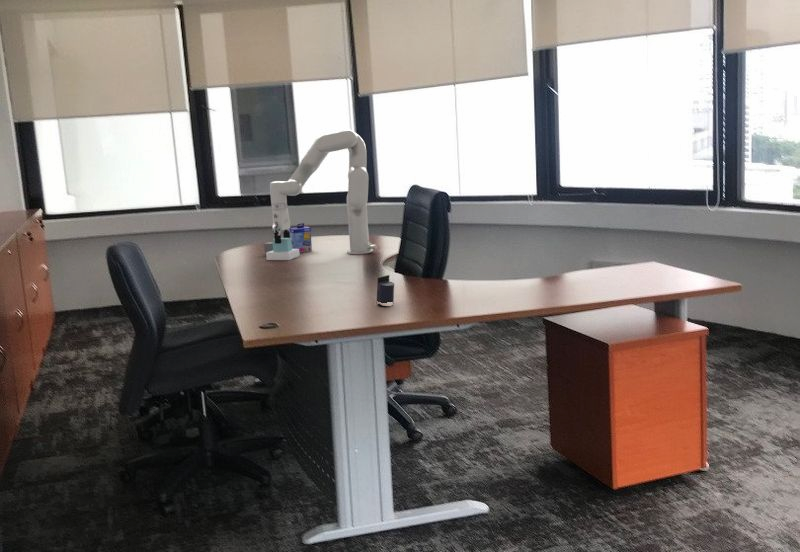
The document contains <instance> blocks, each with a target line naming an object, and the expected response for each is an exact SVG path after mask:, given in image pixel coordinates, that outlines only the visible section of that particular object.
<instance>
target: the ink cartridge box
mask: <svg viewBox="0 0 800 552" xmlns="http://www.w3.org/2000/svg"><path fill="white" fill-rule="evenodd" d="M290 238H291V241H292V249H299V253H305V252H312V251H313V247H312V246H313V245H312V228H311V227H310V226H305V222H302V223H301V222H300V223H297V226H296V227H290Z"/></svg>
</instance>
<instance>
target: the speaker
mask: <svg viewBox="0 0 800 552" xmlns="http://www.w3.org/2000/svg"><path fill="white" fill-rule="evenodd" d="M376 289H377V291H376V302H377V301H378V302H381V303H387V302H393V303H394V302H395V301H394V297H395V283H394V282H392V281H390V274H387V275H382V276H378V277H377V287H376Z"/></svg>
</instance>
